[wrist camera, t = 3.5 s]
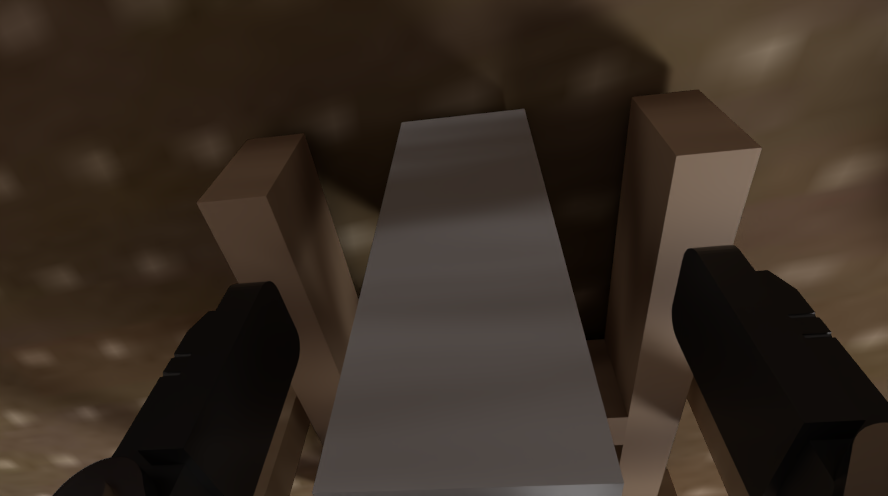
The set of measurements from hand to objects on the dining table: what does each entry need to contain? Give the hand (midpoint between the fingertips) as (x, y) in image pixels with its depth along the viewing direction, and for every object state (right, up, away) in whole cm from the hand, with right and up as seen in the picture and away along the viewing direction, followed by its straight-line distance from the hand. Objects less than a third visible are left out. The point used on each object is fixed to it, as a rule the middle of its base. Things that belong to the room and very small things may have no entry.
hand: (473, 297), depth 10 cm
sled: (+1, -3, +8) cm, 9 cm away
